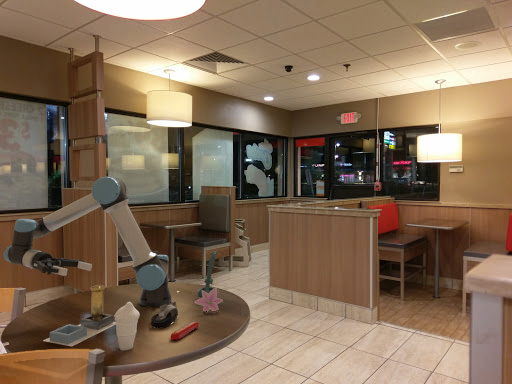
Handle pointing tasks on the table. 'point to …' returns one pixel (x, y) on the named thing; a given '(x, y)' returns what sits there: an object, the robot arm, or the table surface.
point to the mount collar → (97, 322)
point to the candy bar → (184, 331)
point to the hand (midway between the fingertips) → (79, 270)
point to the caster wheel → (165, 315)
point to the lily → (209, 300)
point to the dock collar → (68, 334)
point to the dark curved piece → (208, 276)
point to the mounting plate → (89, 334)
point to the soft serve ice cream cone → (126, 325)
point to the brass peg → (97, 302)
